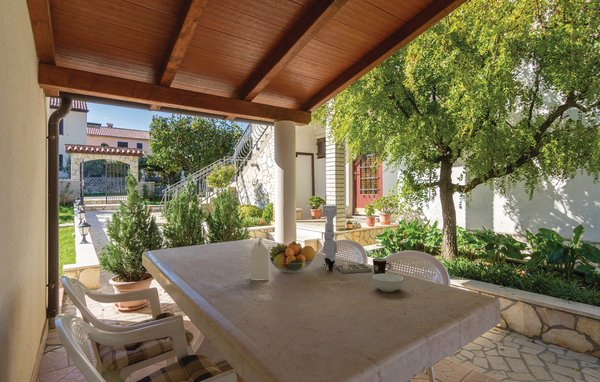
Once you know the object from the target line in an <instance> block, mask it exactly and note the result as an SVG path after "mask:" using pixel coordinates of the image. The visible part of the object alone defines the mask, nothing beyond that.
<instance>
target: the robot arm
mask: <svg viewBox="0 0 600 382" xmlns="http://www.w3.org/2000/svg"><path fill="white" fill-rule="evenodd" d="M337 206H338V205H337V204H323V205H322V213H323V217H325V218H326V223H325V226H324V233H323V235H324V237H323V239H324V242H323V253H324V254H325V255H323V260H324V264H326V265H325V267H327V264H328V268H329V271H328V272H332V271H333V270H334V266H336V265H335V264H336V254H337V252H338V242H337V241H336V240H335V231H334V230H335V229H334V226H335V225H334V218H335V217H336V216H337V211H338V208H337Z"/></svg>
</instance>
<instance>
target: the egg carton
mask: <svg viewBox="0 0 600 382" xmlns="http://www.w3.org/2000/svg"><path fill="white" fill-rule="evenodd" d="M335 266H336V270H338V271H339V272H340V273H341V274H353V273H369V272H370V273H371V272H372V268H371V267H369V266H368V265H367V264H365V263H355V264H354V263H353V264H348V266H349V269H347V270H343V269H342V266H343V264H336V265H335Z"/></svg>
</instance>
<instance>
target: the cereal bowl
mask: <svg viewBox="0 0 600 382" xmlns="http://www.w3.org/2000/svg"><path fill="white" fill-rule="evenodd" d="M404 280H405V279H404V277H403V276H402V275H399V274H393V273H392V274H391V273H385V274H373V275H372V277H371V281H372V284H373V286H374V287H376V288H377V289H379V290H380V291H382V292H385V293H386V292H388V293H393V292H395V291H397V290H400V289H401V288H403V286H404Z"/></svg>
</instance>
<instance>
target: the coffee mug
mask: <svg viewBox="0 0 600 382" xmlns="http://www.w3.org/2000/svg"><path fill="white" fill-rule="evenodd" d="M387 265H388V266H389V267H388V269H386V267H387ZM372 266H373V272H374V274H373V275H375V274H386V272H388V271H389V270H390V269H392V268H391V267H392V266H391V263H389V262H387V259H385V258H382V257H377V258H372Z"/></svg>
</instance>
